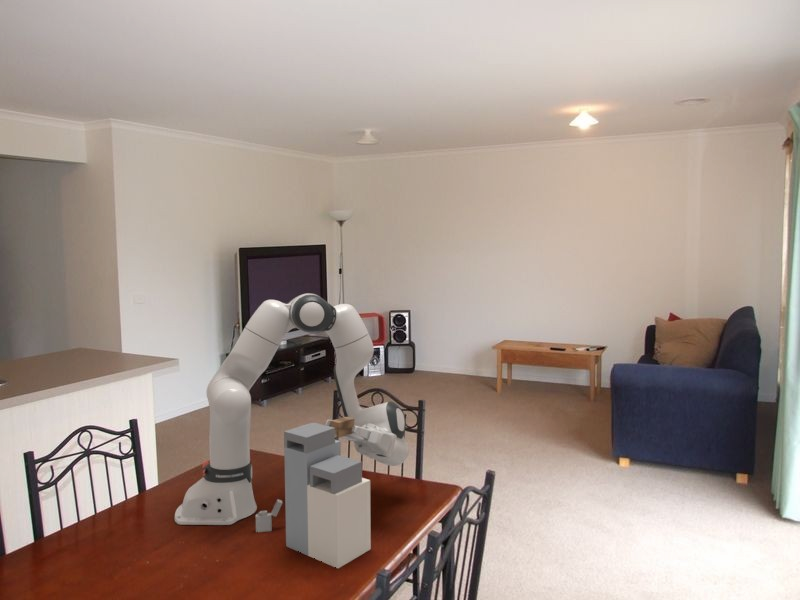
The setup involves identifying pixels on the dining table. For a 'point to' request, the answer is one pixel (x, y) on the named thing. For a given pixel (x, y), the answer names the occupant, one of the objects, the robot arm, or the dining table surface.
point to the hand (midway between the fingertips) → (340, 426)
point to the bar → (342, 426)
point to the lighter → (267, 518)
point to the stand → (324, 497)
